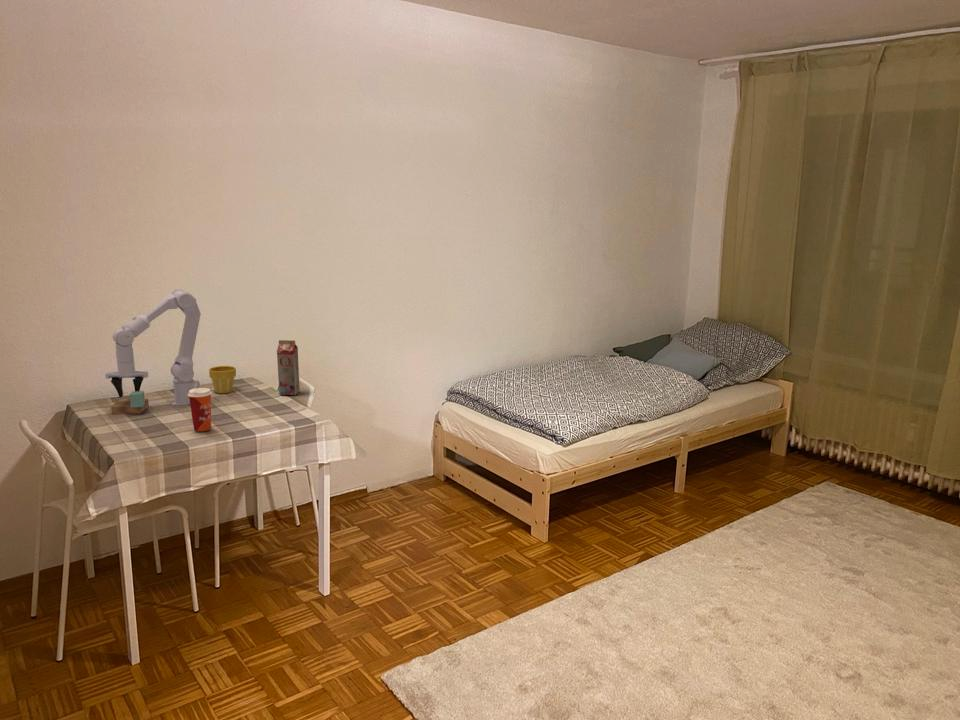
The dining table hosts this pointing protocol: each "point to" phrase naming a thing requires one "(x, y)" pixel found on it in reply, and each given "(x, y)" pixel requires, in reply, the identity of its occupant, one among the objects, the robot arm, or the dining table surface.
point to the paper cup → (200, 408)
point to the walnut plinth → (127, 407)
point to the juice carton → (288, 367)
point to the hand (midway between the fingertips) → (129, 396)
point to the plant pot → (222, 378)
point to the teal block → (137, 399)
